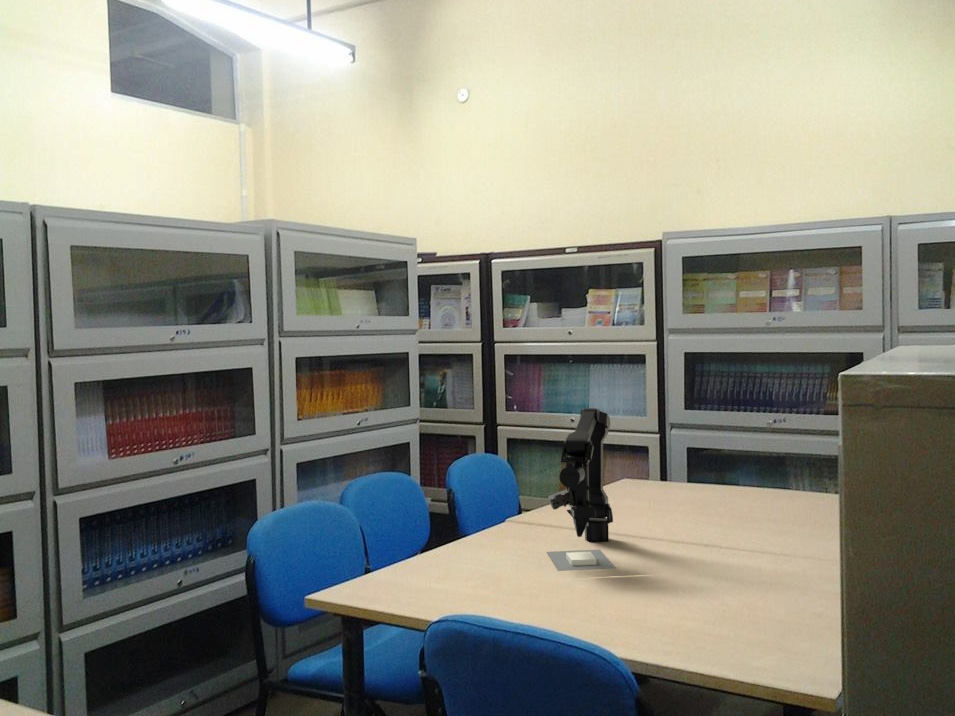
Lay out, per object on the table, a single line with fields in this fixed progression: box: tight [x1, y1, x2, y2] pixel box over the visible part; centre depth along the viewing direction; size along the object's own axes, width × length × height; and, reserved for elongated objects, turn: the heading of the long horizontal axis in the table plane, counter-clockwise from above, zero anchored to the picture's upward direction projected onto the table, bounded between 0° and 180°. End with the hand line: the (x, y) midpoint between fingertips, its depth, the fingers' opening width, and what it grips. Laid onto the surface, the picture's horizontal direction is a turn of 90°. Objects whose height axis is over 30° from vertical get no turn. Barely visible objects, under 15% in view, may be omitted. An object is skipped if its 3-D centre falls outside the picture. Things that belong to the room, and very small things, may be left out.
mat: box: [545, 549, 617, 572], centre depth 244 cm, size 16×20×1 cm
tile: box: [566, 552, 597, 566], centre depth 242 cm, size 7×2×8 cm
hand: (579, 536), depth 243 cm, fingers closed
